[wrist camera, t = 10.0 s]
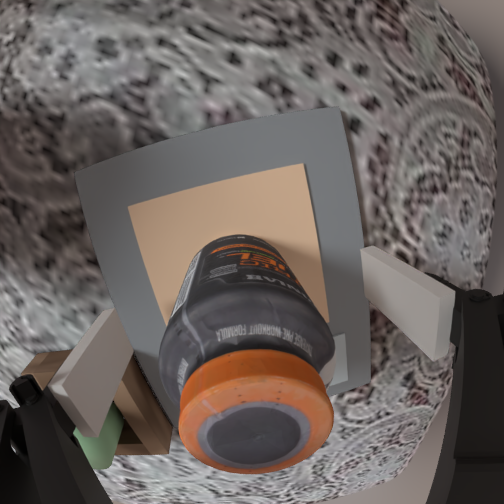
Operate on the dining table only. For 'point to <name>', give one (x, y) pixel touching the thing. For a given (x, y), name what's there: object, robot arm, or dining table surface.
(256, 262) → the pill bottle
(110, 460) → the button
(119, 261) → the picture board
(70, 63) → the dining table surface
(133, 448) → the button box
